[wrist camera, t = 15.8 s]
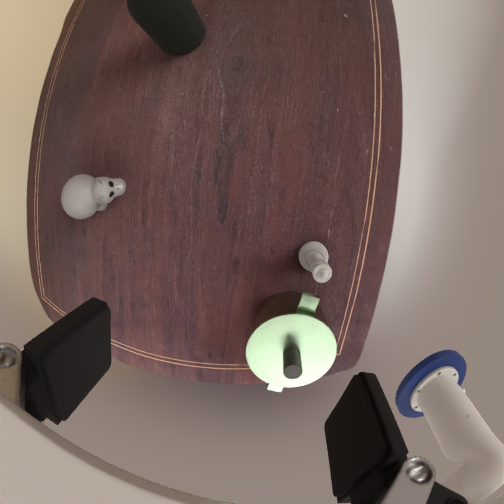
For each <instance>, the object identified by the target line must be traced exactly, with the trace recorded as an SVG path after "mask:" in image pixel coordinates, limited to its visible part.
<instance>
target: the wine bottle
mask: <svg viewBox="0 0 504 504" xmlns="http://www.w3.org/2000/svg"><path fill="white" fill-rule="evenodd" d="M127 4H128V9H129V12H130V14H131V16H132V18H133V19H134V21H135V22H136V23H137V24H138V25H139V26H140V27H141V28H142V29H143V30H144V31H145V32H146V33H147V34H148V35H149V36H150V37H151V38H152V39H153V40H154V41H155V42H156V43H157V44H158V46H159V47H160V48H161V49H162V50H163V51H164V52H166V53H168V54H171V55H181V54H185V53H188V52H190V51H192V50H194V49H195V48H196V47H197V46H199V45H200V44H201V42H202V40H203V39H204V36H205V28H204V26H203V23H202V21H201V19H200V17H199V15H198V13H197V11H196V9H195V7H194V5H193V4H192V2H191V0H127Z"/></svg>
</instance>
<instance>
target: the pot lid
mask: <svg viewBox="0 0 504 504" xmlns="http://www.w3.org/2000/svg"><path fill="white" fill-rule="evenodd" d="M336 352H337V345H336V340H335V337H334V334H333V332H332V331H331V329H330V328H329V327H328V326H327V325H326V324H325V323H324V322H323V321H321V320H320V319H318V318H316V317H314V316H311V315H308V314H303V313H284V314H280V315H276V316H273V317H271V318H269V319H267V320H265V321H264V322H262V323H261V324H260V325H259V326H257V327H256V328H255V330H254V331H253V332H252V334H251V335H250V337H249V339H248V342H247V346H246V359H247V362H248V365H249V367H250V368H251V370H252V371H253V372H254V374H255V375H256V376H257V377H259V378H260V379H261V380H263V381H265V382H267V383H269V384H272V385H275V386H279V387H299V386H303V385H306V384H309V383H312V382H314V381H315V380H317V379H319V378H320V377H322V376H323V375H324V374H325V373H326V372H327V371H328V370H329V368H330V367H331V366H332V364H333V362H334V360H335V357H336Z"/></svg>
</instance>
